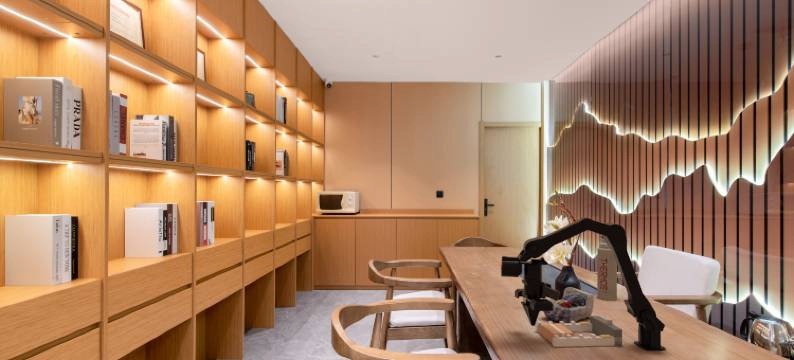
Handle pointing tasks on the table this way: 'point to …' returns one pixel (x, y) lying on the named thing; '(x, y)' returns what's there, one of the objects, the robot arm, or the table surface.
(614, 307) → the table surface
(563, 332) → the block
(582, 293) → the cell model
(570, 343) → the comb channel
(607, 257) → the thermos bottle
